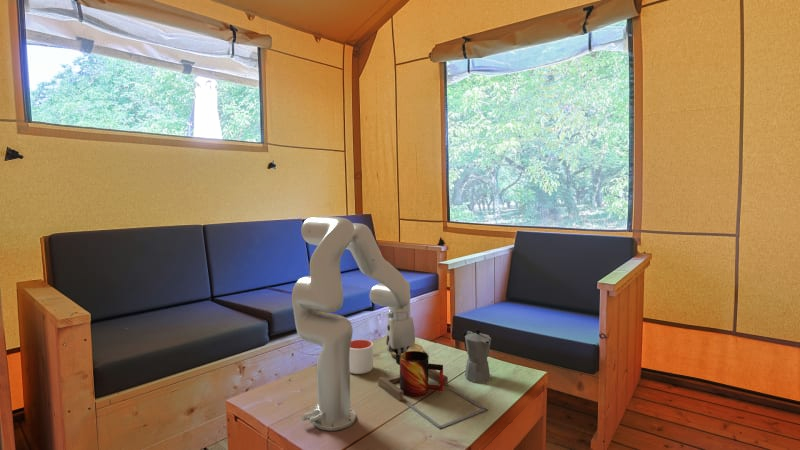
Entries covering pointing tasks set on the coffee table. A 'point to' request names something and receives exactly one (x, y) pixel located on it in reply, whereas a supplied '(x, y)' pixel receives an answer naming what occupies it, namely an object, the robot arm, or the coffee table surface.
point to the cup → (361, 356)
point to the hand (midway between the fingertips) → (400, 364)
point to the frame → (453, 420)
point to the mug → (417, 374)
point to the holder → (394, 390)
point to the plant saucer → (411, 349)
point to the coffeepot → (477, 356)
